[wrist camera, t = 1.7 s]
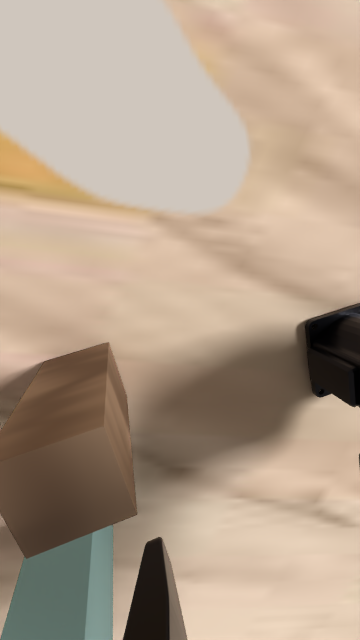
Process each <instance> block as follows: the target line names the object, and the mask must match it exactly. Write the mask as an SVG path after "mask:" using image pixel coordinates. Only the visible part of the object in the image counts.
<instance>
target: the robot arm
mask: <svg viewBox="0 0 360 640" xmlns="http://www.w3.org/2000/svg"><path fill="white" fill-rule="evenodd" d="M313 324H314V327H313V328H312V325H313ZM305 330H306V338H307V347H308V351H307V354H308V363H309V372H310V379H311V382H312V390H313V393H314V394H315V395H316V396H317V397H324V396H327V395H329V394H333V395H335V396H336V397H338V398H339V399H341V400H342V401H344V402H346V403H347V404H349V405H350V406H352V407H356V406H359V407H360V304H356V305H353V306H350V307H347V308H344V309H341V310H338V311H335V312H332V313H329V314H325V315H322V316H319V317H316V318H313V319H310V320H308V321H307V322H306V325H305ZM320 389H321V390H320ZM319 390H320V391H319ZM359 465H360V454H359ZM123 640H187V635H186V630H185V626H184V621H183V616H182V612H181V607H180V603H179V598H178V593H177V589H176V584H175V579H174V575H173V570H172V566H171V562H170V559H169V556H168V553H167V550H166V547H165V545H164V542H163V539H162V538H161V537H158V538H156V539H153V540H151V541H148V542H147V543H146V545H145V548H144V553H143V557H142V561H141V565H140V569H139V574H138V578H137V582H136V586H135V591H134V595H133V599H132V603H131V608H130V612H129V616H128V620H127V625H126V629H125V633H124V637H123Z"/></svg>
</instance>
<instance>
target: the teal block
mask: <svg viewBox="0 0 360 640" xmlns="http://www.w3.org/2000/svg"><path fill="white" fill-rule="evenodd" d="M0 640H113V526H112V525H110V526H108V527H105V528H103V529H100V530H98V531H95V532H93V533H90V534H88V535H85V536H83V537H80V538H78V539H75V540H73V541H70V542H68V543H65V544H63V545H60V546H58V547H55V548H53V549H50V550H48V551H45V552H43V553H40V554H38V555H35V556H33V557H30V558H28V559H26V558H25V556H24V560H23V563H22V567H21V570H20V574H19V577H18V580H17V584H16V587H15V591H14V594H13V597H12V601H11V604H10V608H9V611H8V614H7V618H6V621H5V625H4V628H3V632H2V635H1V638H0Z"/></svg>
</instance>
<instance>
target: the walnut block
mask: <svg viewBox="0 0 360 640" xmlns="http://www.w3.org/2000/svg"><path fill="white" fill-rule="evenodd" d="M0 513H1V515H2V517H3V519H4V520H5V522H6V524H7V526H8V527H9V529H10V531H11V533H12V535H13V536H14V538H15V540H16V542H17V544H18V545H19V547H20V549H21V551H22V552H23V554H24V556H25V558H26V559H28V558H30V557H33V556H35V555H38V554H40V553H43V552H45V551H48V550H50V549H53V548H55V547H58V546H60V545H63V544H65V543H68V542H70V541H73V540H75V539H78V538H80V537H83V536H85V535H88V534H90V533H93V532H95V531H98V530H100V529H103V528H105V527H108V526H110V525H113V524H115V523H118V522H120V521H123V520H125V519H128V518H130V517H133V516H135V515H137V507H136V496H135V484H134V473H133V461H132V450H131V438H130V427H129V416H128V404H127V395H126V392H125V389H124V386H123V383H122V380H121V377H120V374H119V371H118V368H117V365H116V362H115V359H114V356H113V353H112V350H111V347H110V344H109V342H108V343H105V344H101V345H98V346H95V347H91V348H88V349H85V350H81V351H78V352H75V353H71V354H68V355H65V356H61V357H58V358H55V359H51V360H48V361H45V362H44V363H43V365H42V366H41V368H40V369H39V371H38V373H37V374H36V376H35V377H34V379H33V380H32V382H31V384H30V385H29V387H28V388H27V390H26V392H25V393H24V395H23V396H22V398H21V400H20V401H19V403H18V404H17V406H16V407H15V409H14V411H13V412H12V414H11V415H10V417H9V419H8V420H7V422H6V423H5V425H4V427H3V428H2V430H1V431H0Z"/></svg>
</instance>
